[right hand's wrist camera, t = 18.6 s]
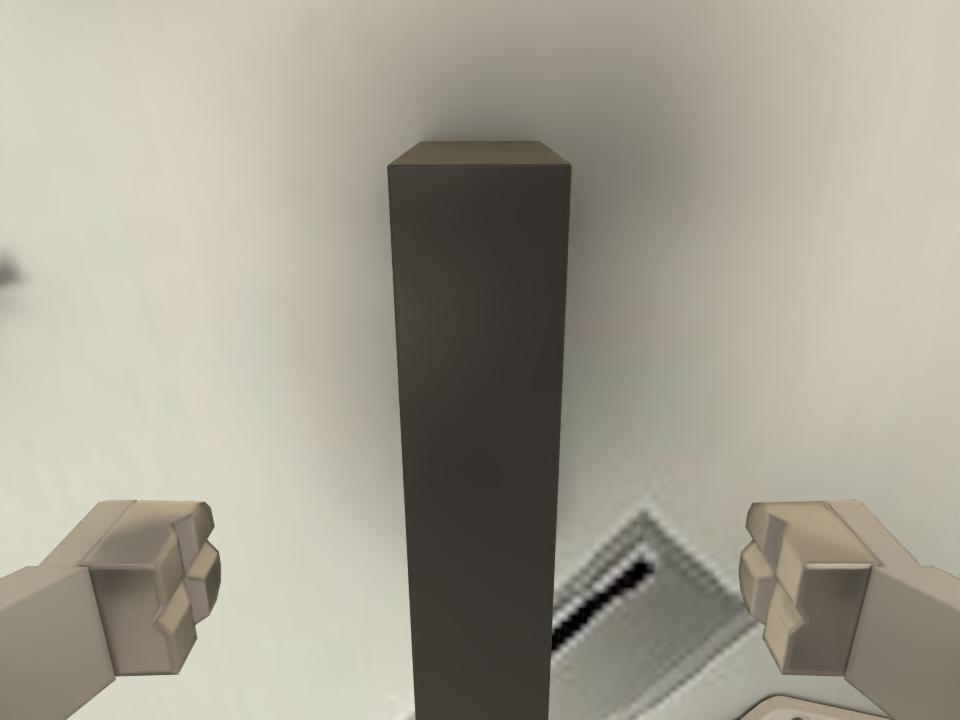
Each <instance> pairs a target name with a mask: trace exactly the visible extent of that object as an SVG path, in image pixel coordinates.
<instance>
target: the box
mask: <svg viewBox="0 0 960 720" xmlns="http://www.w3.org/2000/svg"><path fill="white" fill-rule="evenodd" d="M571 168H572V166H571V164H570V163H568V162H567V161H565V160H564V159H563V158H561V157H560V156H559V155H557V154H556V153H554V152H553V151H552V150H550V149H549V148H548V147H546V146H545V145H544V144H542V143H541V142H539V141H510V142H419V143H418V144H417V145H415V146H414V147H413V148H411V149H410V150H408V151H407V152H406V153H404V154H403V155H402V156H400V157H399V158H397V159H396V160H395V161H393V162H392V163H391V164H389V165H388V167H387V169H388V189H389V208H390V228H391V247H392V267H393V287H394V306H395V326H396V345H397V365H398V384H399V404H400V423H401V443H402V463H403V482H404V502H405V521H406V541H407V560H408V580H409V599H410V619H411V638H412V658H413V678H414V697H415V717H416V720H548V711H549V688H550V664H551V641H552V617H553V593H554V570H555V546H556V522H557V499H558V475H559V451H560V428H561V404H562V381H563V357H564V333H565V310H566V286H567V262H568V239H569V215H570V191H571Z"/></svg>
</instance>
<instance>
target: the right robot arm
mask: <svg viewBox="0 0 960 720" xmlns="http://www.w3.org/2000/svg"><path fill="white" fill-rule="evenodd" d="M214 527H215V526H214V521H213V516H212V511H211V507H210V506H209V505H208V504H207V503H205V502H194V501H144V500H141V501H137V500H107V501H103V502H99V503H98V504H97V505H96V506H95V507H94V508H93V509H92V510H91V511H90V512H89V513H88V514H87V515H86V516H85V517H84V518H83V519H82V521H81V522H80V523H79V524H78V525H77V526H76V527H75V528H74V529H73V530H72V531H71V532H70V533H69V534H68V535H67V536H66V537H65V538H64V539H63V540H62V542H61V543H60V544H59V545H58V546H57V547H56V548H55V549H54V550H53V551H52V552H51V553H50V554H49V555H48V556H47V557H46V558H45V559H44V560H43V562H42V563H41V564H40V565H39V566H27V567H24V568H22V569H20V570H18V571H16V572H14V573H12V574H10V575H7V576H5V577H3V578H1V579H0V720H66V719H68V718H69V717H70V716H71V715H72V714H74V713H75V712H76V711H77V710H79V709H80V708H81V707H82V706H84V705H85V704H86V703H87V702H89V701H90V700H91V699H92V698H93V697H95V696H96V695H97V694H98V693H100V692H101V691H102V690H103V689H105V688H106V687H107V686H108V685H110V684H111V683H112V682H113V681H114V680H115V679H116V678H115V676H144V675H178V674H179V672H180V670H181V668H182V666H183V664H184V662H185V661H186V659H187V657H188V655H189V653H190V651H191V649H192V647H193V645H194V644H195V642H196V640H197V634H196V629H195V625H196V624H197V623H199V622H200V621H202V620H203V619H205V618H206V617H208V616H209V615H210V613H211V611H212V609H213V607H214V605H215V603H216V600H217V596H218V591H219V587H220V582H221V563H220V556H219V551H218V550H217V549H216V548H215V547H214V546H213V545H212V544H211V543H210V542H209V541H208V540H207V538H208V537H209V535H210V533H211V532H212V530H213V528H214ZM745 527H746V528H747V530H748V532H749V533H750V535H751V537H752V538H753V540H752V541H751V542H750V543H749V544H748V545H747V546H746V547H745V548H744V549H743V550H742V551H741V557H740V565H739V579H740V589H741V593H742V596H743V599H744V603H745V605H746V607H747V609H748V611H749V613H750V615H751V616H752V617H754V618H755V619H757V620H758V621H760V622H761V623H763V624H764V625H765V629H764V634H763V640H764V642H765V644H766V645H767V647H768V649H769V651H770V653H771V655H772V657H773V659H774V660H775V662H776V664H777V666H778V668H779V670H780V672H781V674H782V675H815V676H845V678H844V679H845V680H846V681H847V682H848V683H850V684H851V685H852V686H853V687H854V688H856V689H857V690H858V691H859V692H861V693H862V694H863V695H864V696H866V697H867V698H868V699H869V700H871V701H872V702H873V703H874V704H875V705H877V706H878V707H879V708H880V709H882V710H883V711H884V712H885V713H887V714H888V715H889V716H890V717H891V718H893V719H894V720H960V579H959V578H957V577H955V576H953V575H950V574H948V573H946V572H944V571H942V570H940V569H938V568H936V567H933V566H921V565H920V564H919V563H918V561H917V560H916V559H915V558H914V557H913V556H912V555H911V554H910V553H909V552H908V551H907V550H906V549H905V548H904V547H903V546H902V545H901V544H900V542H899V541H898V540H897V539H896V538H895V537H894V536H893V535H892V534H891V533H890V532H889V531H888V530H887V529H886V528H885V527H884V526H883V525H882V524H881V522H880V521H879V520H878V519H877V518H876V517H875V516H874V515H873V514H872V513H871V512H870V511H869V510H868V509H867V508H866V507H865V506H864V505H863V504H862V503H860V502H858V501H855V500H832V501H810V502H767V503H752V505H751V507H750V509H749V511H748V515H747V520H746V526H745ZM740 720H892V719H887V718H882V717H878V716H873V715H869V714H864V713H859V712H855V711H850V710H846V709H841V708H836V707H832V706H827V705H822V704H818V703H813V702H809V701H804V700H799V699H795V698H790V697H785V696H774V697H771V698H768V699H767V700H765V701H763V702H762V703H760V704H759V705H757V706H756V707H755V708H753V709H752V710H751V711H750V712H749V713H747V714H746V715H745V716H744V717H743V718H742V719H740Z"/></svg>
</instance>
